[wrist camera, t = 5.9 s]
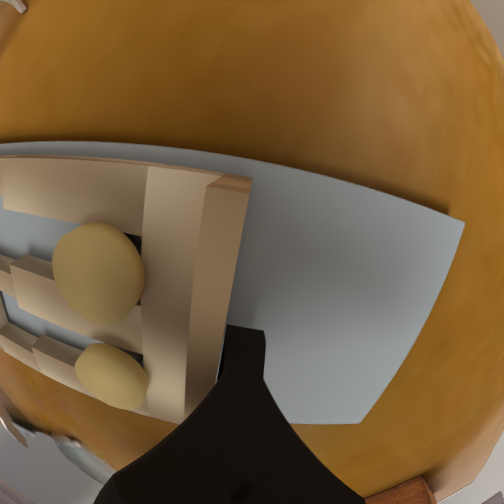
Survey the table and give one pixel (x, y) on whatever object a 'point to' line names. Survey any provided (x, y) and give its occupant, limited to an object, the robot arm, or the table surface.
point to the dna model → (17, 5)
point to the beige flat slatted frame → (154, 261)
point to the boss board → (259, 280)
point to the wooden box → (405, 494)
